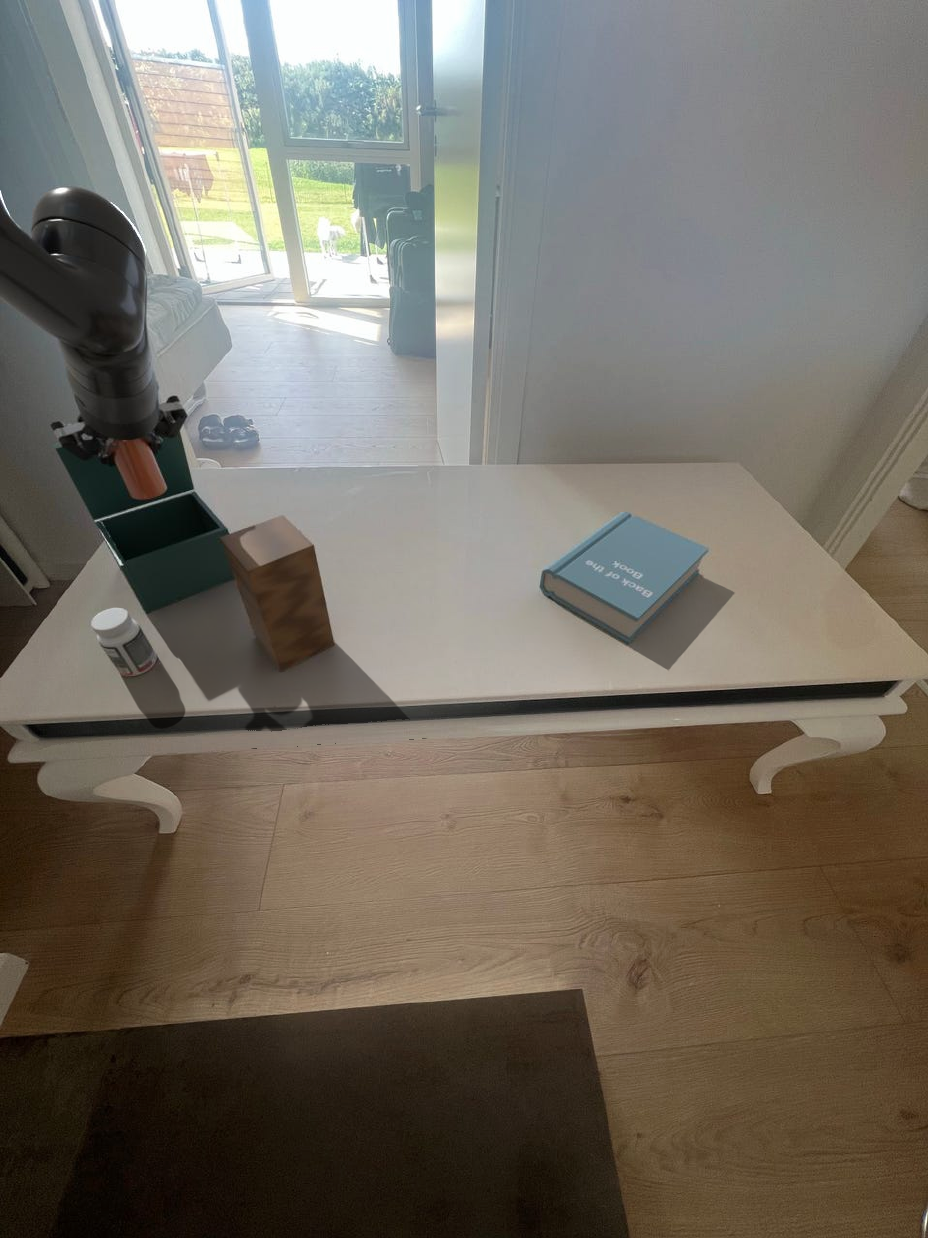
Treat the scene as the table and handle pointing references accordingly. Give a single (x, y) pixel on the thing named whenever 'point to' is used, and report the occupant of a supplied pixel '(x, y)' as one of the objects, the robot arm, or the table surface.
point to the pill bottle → (123, 641)
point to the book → (623, 574)
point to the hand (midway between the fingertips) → (130, 453)
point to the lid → (107, 487)
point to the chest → (168, 549)
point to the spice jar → (139, 469)
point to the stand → (280, 590)
